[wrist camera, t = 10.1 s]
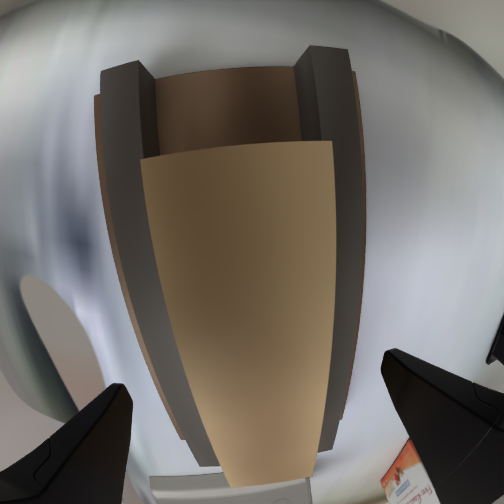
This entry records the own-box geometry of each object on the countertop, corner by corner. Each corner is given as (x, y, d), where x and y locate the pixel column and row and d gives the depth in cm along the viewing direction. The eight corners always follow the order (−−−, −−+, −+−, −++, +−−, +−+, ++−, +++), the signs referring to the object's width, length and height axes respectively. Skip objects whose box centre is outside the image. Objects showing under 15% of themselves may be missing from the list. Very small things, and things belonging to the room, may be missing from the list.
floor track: (346, 76, 11) (381, 55, 8) (337, 410, 18) (352, 443, 14) (102, 99, 10) (67, 83, 7) (182, 430, 17) (178, 466, 14)
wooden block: (279, 152, 11) (331, 140, 5) (290, 397, 15) (312, 476, 10) (183, 162, 11) (139, 159, 5) (226, 405, 15) (230, 487, 9)
